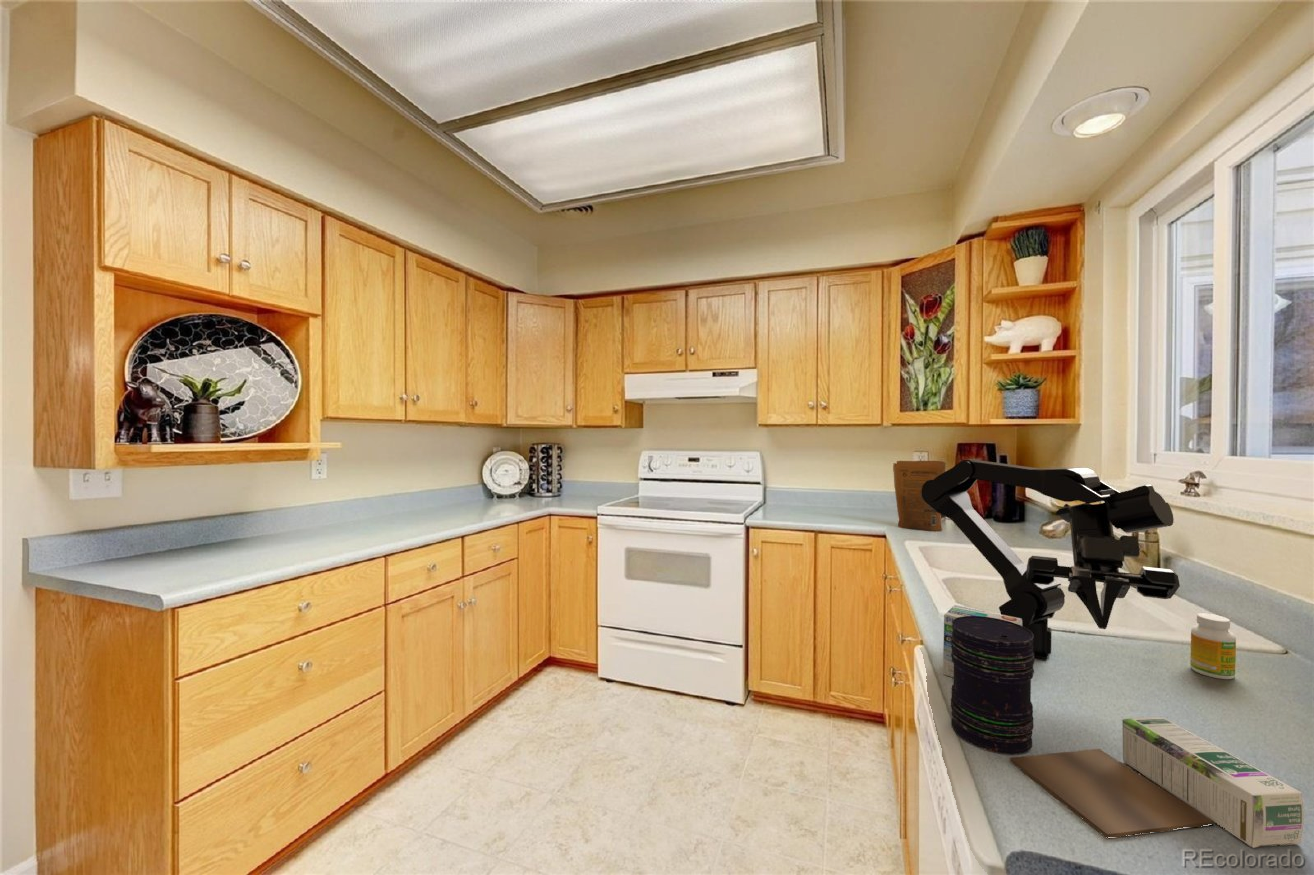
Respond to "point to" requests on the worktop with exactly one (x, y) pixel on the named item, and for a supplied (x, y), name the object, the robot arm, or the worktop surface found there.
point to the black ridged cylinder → (992, 684)
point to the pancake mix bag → (916, 494)
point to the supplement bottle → (1213, 647)
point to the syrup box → (1215, 782)
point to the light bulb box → (948, 618)
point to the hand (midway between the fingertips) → (1102, 628)
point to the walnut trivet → (1108, 793)
